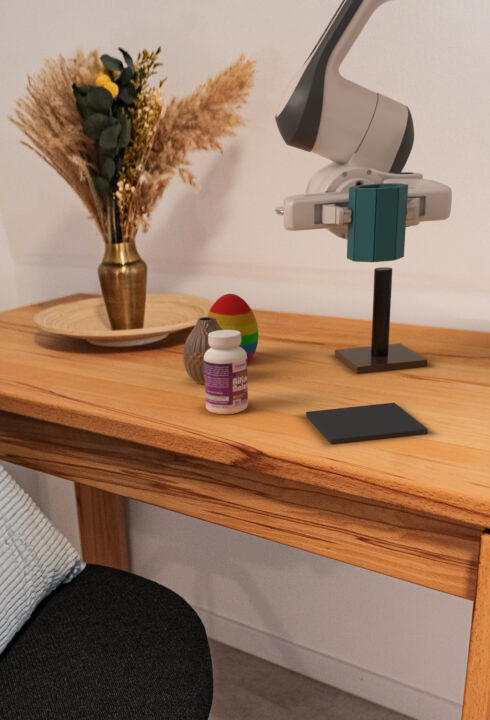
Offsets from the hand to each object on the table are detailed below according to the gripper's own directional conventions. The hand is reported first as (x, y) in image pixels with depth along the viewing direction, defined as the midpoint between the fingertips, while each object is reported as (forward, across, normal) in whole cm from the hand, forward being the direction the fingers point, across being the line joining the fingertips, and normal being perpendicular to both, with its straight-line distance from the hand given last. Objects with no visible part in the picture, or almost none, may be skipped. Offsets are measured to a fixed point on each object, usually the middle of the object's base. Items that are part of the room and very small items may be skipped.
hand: (379, 214), depth 97 cm
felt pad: (+10, -3, +22) cm, 24 cm away
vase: (-12, -20, +22) cm, 32 cm away
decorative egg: (-22, -16, +22) cm, 35 cm away
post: (-16, +5, +22) cm, 28 cm away
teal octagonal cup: (-1, 0, +5) cm, 5 cm away
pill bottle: (+1, -18, +22) cm, 29 cm away
